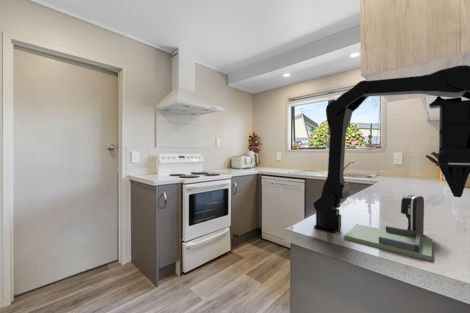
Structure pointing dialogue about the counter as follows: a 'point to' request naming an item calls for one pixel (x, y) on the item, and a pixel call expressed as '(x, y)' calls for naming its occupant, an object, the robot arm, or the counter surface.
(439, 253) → the counter surface
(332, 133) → the robot arm
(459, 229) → the counter surface
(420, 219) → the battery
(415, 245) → the mounting plate
